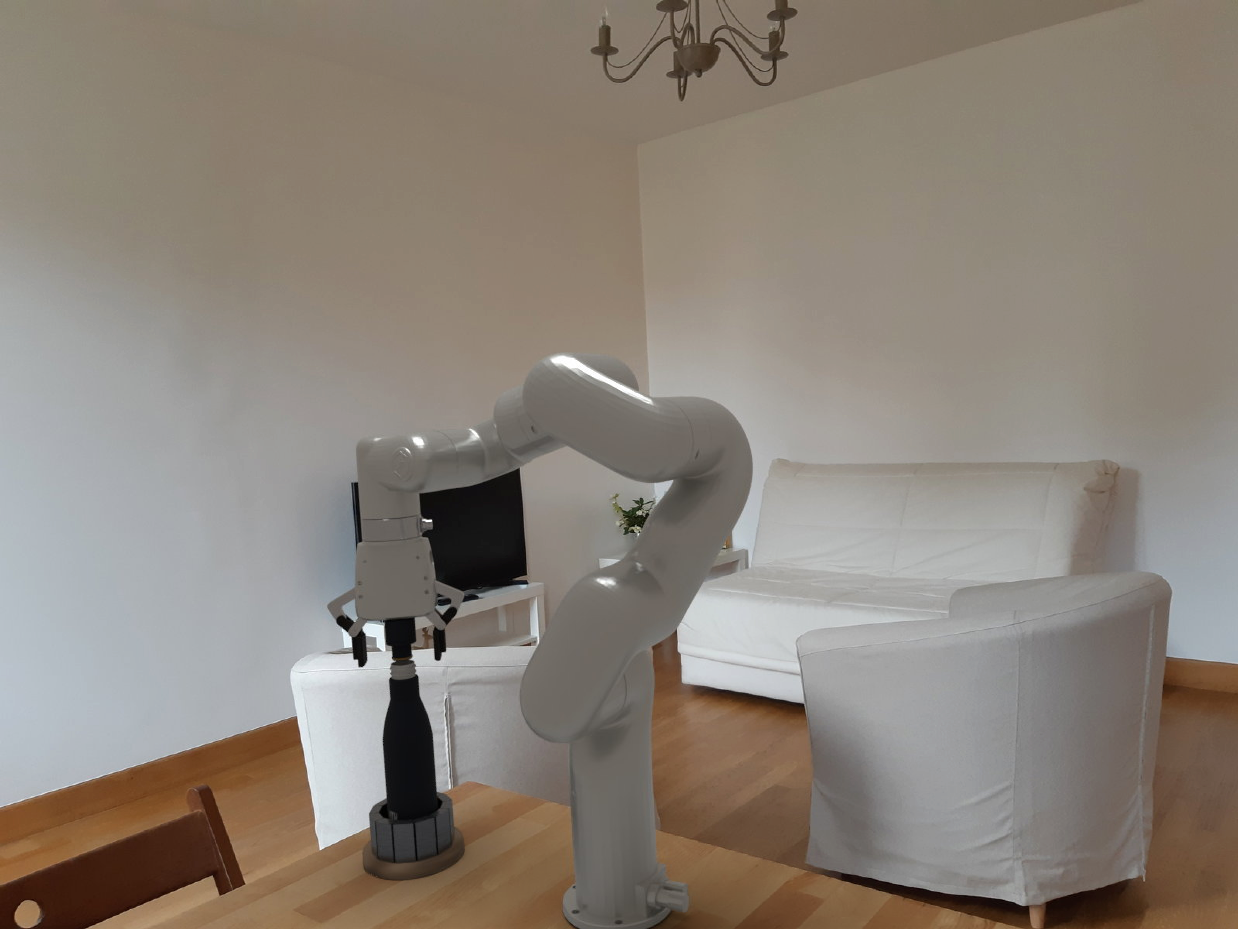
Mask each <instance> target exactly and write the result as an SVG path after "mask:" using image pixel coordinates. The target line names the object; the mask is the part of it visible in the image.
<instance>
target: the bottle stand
mask: <svg viewBox="0 0 1238 929" xmlns="http://www.w3.org/2000/svg"><path fill="white" fill-rule="evenodd" d="M437 802H438V810H437V811H435V812H434V813H432V814H430V815H428V816H424V817H421V818H417V819H414V820H399V821H396V820H391V819H388V811H387V797H386V798H384V799H382V800H381V801H379V802H376V803H375V804H374V805H373V806H372V808H371V809H370V811H369V812H368V819H369V834H370V840H369V841H367V843H365V845H364V847H363V849H362V853H361V854H362V866H363V865H364V866H363V869H364V868H365V869H366V870H365V869H364V870H365V871H366V873H367V872H368V873H367V874H369V873H370V874H372V875H374V876H377V877H376V878H378V877H379V878H378V879H381V878H382V880H388V881H389V880H390V881H407V880H416V879H420V878H424V877H429V876H432V875H435V874H438V873H440V872H442V871H444V870H447V869H449V868H450V867H452V866H453V865H455V864H456V863H458V861H459V860H460V859H461V858H462V857H463V855H464V853H465V836H464V833H463V831H461V830H460V828H458V827H455V819H454V807H453V805H454V804H453V799H452V798H451V797H450V796H449V795H447V794H446V793H444V792H441V791H440V792H439V791H437ZM370 874H369V875H370ZM372 875H371V876H372ZM374 876H373V877H374Z"/></svg>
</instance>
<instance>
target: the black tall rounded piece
mask: <svg viewBox="0 0 1238 929" xmlns="http://www.w3.org/2000/svg"><path fill="white" fill-rule="evenodd" d="M383 623H384V633H385V634H384V636H385V645H386V646H388V647H391V659H392V661H393V662H391V663H390V667H389V670H390V671H391V672H389V674H390V677H389V679H388V686H389V702H388V707H387V710H386V714H385V717H384V724H383V731H382V750H383V751H382V752H383V753H382V754H383V767H384V778H385V782H384V783H385V792H386V798H387V811H388V819H391V820H396V821H399V820H414V819H417V818H421V817H424V816H428V815H430V814H432V813H434V812H435V811H437V810H438V802H437V792H438V791H437V790H438V789H437V788H438V787H437V776H436V775H437V772H436V760H435V759H436V758H435V746H434V734H433V729H432V725H431V721H430V720H431V719H430V717H429V714H428V711H427V710H426V707H425V705H424V702H423V700H422V697H421V696H420V695H421V693H420V682H419V680H420V679H419V678H420V677H419V675H418V674H417V669H416V667H417V665H416V663H415V661H414V660H413V657H414V656H413V650H412V648H413V647H412V645H413V644H415V643H416V642H417V630H416V628H417V627H416V618H405V619H393V620H383Z"/></svg>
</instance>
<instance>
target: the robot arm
mask: <svg viewBox="0 0 1238 929" xmlns="http://www.w3.org/2000/svg"><path fill="white" fill-rule="evenodd" d="M492 414H493V417H490V418H488V419H485V420H483V421H481V422H479V423H477V424H473V425H471V426H467V427H465V428H457V429H438V430H437V429H434V430H429V431H428V430H425V431H415V432H408V433H404V434H382V435H381V434H380V435H371V436H365V437H362V438H360V439H359V440H358V442H356V443H357V444H356V447H355V457H356V460H355V461H356V469H357V470H356V473H357V474H356V475H357V483H358V484H357V486H358V499H359V513H360V528H361V542H358V543H357V544H356V545H357V546H356V552H355V553H356V554H355V562H354V563H355V564H354V586H353V587H352V588H351V589H349V590H347V591H346V592H345V593H343V594H341V595H339V596H337V597H336V598H334V599H332V600H331V601H330V602H328V604H327V607H326V608H327V610H328V611H329V613H330V615H331V616H332V618H333V619H334V620H335V623H336V624H337V625H338V626H339V627H340V628H341V629H343V631H345V632H346V633H347V634H348V636H349V637H351V646H352V659H353V661H356V660H357V667H358V668H360V669H361V668H364V667H365V666H366V664H367V662H368V649H367V648H368V646H367V634H366V632H365V631H364V626H365V625H366V623H367V622H376V621H377V622H378V621H384V620H393V619H405V618H415V619H416V618H422V617H425V618H426V619H427V620H428V621H429V622H430V623H431V624H432V625H434V626H433V630H432V639H433V640H432V641H433V657H434V661H436V662H439V661H441V660H442V656H443V653H447V640H446V639H447V636H446V627H447V626H448V625H449V624H450V622H451V621H452V620H453V619H454V618H455V617H456V615H457V614H458V612H459V609H460V607H461V604H462V603H463V601H464V599H465V593H464V592H463V590H460V589H458V588H455V587H453V586H450V585H448V584H445V583H443V582H440V581H438V580H437V578H436V569H435V561H434V557H433V556H434V555H433V551H432V547H431V544H430V540H429V538H428V537H423V533H425V532H426V531H427V530H433V526H434V525H433V519H432V518H429V519H427V518H424V516H422V513H421V502H420V501H421V500H420V494H425V493H433V492H439V491H444V490H451V489H456V488H458V489H459V488H465V487H471V486H474V485H478V484H482V483H483V482H487V481H490V480H492V479H495V478H498V477H500V476H503V475H505V474H509V473H510V472H514V471H516V470H517V469H520V468H522V467H524V466H525V465H527V464H529V463H531V462H532V461H534V460H535V459H536V458H539V457H543V456H545V455H547V454H550V453H553V452H555V451H558V450H561V449H563V448H567V447H568V448H570V449H571V450H574V451H575V452H578V453H579V454H581V455H583V456H585V457H586V458H587V459H590V460H592V461H594V462H596V463H597V464H599V465H602V466H604V467H605V468H606V469H609V470H610V471H612V472H614V473H616V474H618V475H620V476H622V477H624V478H626V479H628V480H631V481H635V482H638V483H639V482H640V483H645V484H659V483H665V482H669V481H672V483H671V485H670V487H669V488H668V489H667V491H666V492H665V494H664V495H663V496H662V497H661V499H660V500H659V501H658V503H656V505H655V506H654V508H652V510H651V512H650V513H649V515H648V517H647V518H646V520H645V522H644V524H643V527H642V528H641V530H640V532H639V533H638V536H637V537H636V539H635V541H634V542H633V544H632V546H630V549H629V550H628V551H627V553H626V554H625V555H624V556H623V558H621V559H620V560H618V561H616V562H615V563H613V564H610V565H607V566H604V567H602V568H598V569H596V570H593V571H592V572H589V573H587V574H585V575H583V577H581V578H580V579H578V580H577V582H575V583H574V584H573V585H572V586H571V587H570V589H569V590H568V591H566V593H565V595H564V596H563V597H562V599H561V601H560V603H559V604H558V606H557V608H556V609H555V612H554V614H552V615H553V616H552V618H551V619H550V622H549V623H548V625H547V627H546V629H545V631H544V632H543V635H542V636H541V637H540V641H539V642H538V644H537V646H536V648H535V650H534V651H533V653H532V655H531V657H530V659H529V661H528V663H527V665H526V667H525V670H524V672H523V675H522V678H521V682H520V688H519V707H520V710H521V714H522V717H523V719H524V721H525V723H526V725H527V726H528V728H529V729H530V730H531V731H532V733H533V734H535V735H536V736H537V737H539V738H541V739H542V740H543V741H547V742H549V743H553V744H568V745H567V746H568V747H567V768H568V771H567V772H568V787H569V788H568V789H569V803H570V804H569V806H570V816H571V818H570V819H571V820H570V821H571V834H572V835H571V836H572V837H571V838H572V850H573V851H572V852H573V867H574V868H573V869H574V883H573V884H572V885H570V886H569V887H568V889H567V890H566V891H565V893H564V894H563V898H562V912H563V914H564V917H565V918H566V920H567V921H568V922H569V923H570V924H572V925H573V926H574V927H576V928H578V929H649V928H652V927H654V926H655V925H658V924H659V923H661V921H663V920H664V919H665V918H666V917H667V916H668V915H669V914H670V913H671V911H676V912H681V913H686V912H687V911H688V909H689V907H690V906H689V905H690V896H689V894H688V890H689V888H688V887H689V886H688V883H686V882H681V881H673V880H670V879H669V877H667V868H666V867H667V866H666V865H667V864H665V863H661V862H658V854H657V853H658V851H657V838H656V837H657V835H656V817H655V801H654V800H655V799H654V797H655V796H654V784H653V783H654V782H653V781H654V780H653V760H652V759H653V758H652V757H653V756H652V715H653V707H654V696H655V686H656V685H655V682H656V681H655V669H654V668H655V667H654V664H653V661H652V657H651V655H650V653H649V651H648V649H650V648H651V647H653V646H655V645H657V644H659V643H661V642H662V641H664V640H665V639H668V638H669V637H670V636H671V635H673V634H674V633H675V631H676V630H677V629H678V627H679V626H680V624H681V623H682V621H683V620H684V618H685V616H686V614H687V612H688V610H689V608H690V607H691V605H692V603H693V601H694V599H695V598H696V596H697V594H698V592H699V591H700V589H701V587H702V585H704V582H705V580H706V578H707V577H708V576H709V573H710V572H711V570H712V567H713V566H714V563H715V562H716V559H717V558H718V556H719V555H720V553H721V550H722V549H723V548H724V546H725V544H726V542H727V541H728V540H729V537H730V536H731V533H732V532H733V531H734V529H735V526H736V525H737V523H738V521H739V519H740V517H741V515H742V513H743V511H744V508H745V506H746V504H747V501H748V499H749V495H750V492H751V487H752V482H753V473H754V463H753V462H754V461H753V455H752V449H751V446H750V445H751V444H750V441H749V439H748V436H747V434H746V432H745V429H744V428H743V426H742V424H741V423H740V421H739V420H738V418H737V417H736V416H735V415H734V413H732V412H731V411H730V410H729V409H728V408H726V407H725V406H724V405H723V404H721V403H720V402H719V403H718V402H717V401H715V400H713V399H708V398H705V397H702V396H701V397H699V396H693V395H692V396H683V395H682V396H681V395H680V396H658V397H657V396H650V395H648V394H645V393H644V392H642V391H640V389H639V383H638V380H637V377H636V376H635V374H634V372H633V371H632V369H631V368H630V367H629V366H628V365H627V364H626V363H625V362H624V361H622V360H620V359H618V358H617V357H614V356H611V355H609V354H608V355H607V354H602V353H590V352H584V353H583V352H570V351H569V352H567V351H566V352H556V353H553V354H550V355H547V356H545V357H543V358H542V359H540V360H539V361H537V362H536V363H535V364H534V365H533V366H532V367H531V369H530V370H529V371H528V373H527V375H526V377H525V380H524V382H523V383H522V384H520V385H518V386H515V387H513V388H510V389H509V390H506V391H504V392H503V393H501V394H500V395H499V397H498V398H497V399H496V401H495V403H494V406H493V413H492ZM439 594H440V595H441V596H443V597H446V598H449V599H450V600H451V603H450V605H449V607H448V608H447V609H446V610H445V611H444V612H443V614H442V612H441V611H439V609H438V608H437V606H438V595H439ZM352 601H354V608H355V614H356V616H357V618H356V620H355V621H354V620H353V619H352V618H351V617H350V616H349V615H347V614H346V613H345V611H344V608H343V607H344V606H345V605H347V604H349V603H350V602H352Z"/></svg>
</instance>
